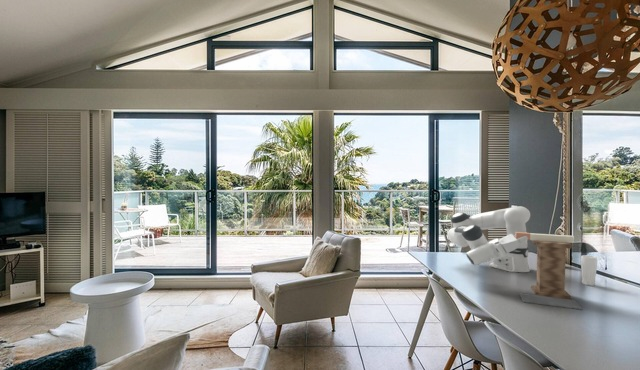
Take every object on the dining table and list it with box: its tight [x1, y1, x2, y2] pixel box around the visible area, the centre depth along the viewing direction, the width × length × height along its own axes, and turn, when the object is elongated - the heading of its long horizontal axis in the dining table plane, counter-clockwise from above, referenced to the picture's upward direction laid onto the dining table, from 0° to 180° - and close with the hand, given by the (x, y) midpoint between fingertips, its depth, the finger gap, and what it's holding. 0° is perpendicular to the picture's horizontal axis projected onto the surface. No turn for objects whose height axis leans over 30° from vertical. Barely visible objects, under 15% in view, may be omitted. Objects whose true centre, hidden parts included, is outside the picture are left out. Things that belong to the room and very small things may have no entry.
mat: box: [519, 293, 583, 311], centre depth 153 cm, size 22×11×1 cm, turn 66°
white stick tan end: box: [515, 232, 575, 244], centre depth 164 cm, size 24×3×3 cm, turn 66°
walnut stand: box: [530, 240, 573, 300], centre depth 164 cm, size 14×12×26 cm
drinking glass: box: [580, 254, 598, 287], centre depth 178 cm, size 7×7×15 cm
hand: (525, 235), depth 168 cm, fingers open, 8 cm apart
